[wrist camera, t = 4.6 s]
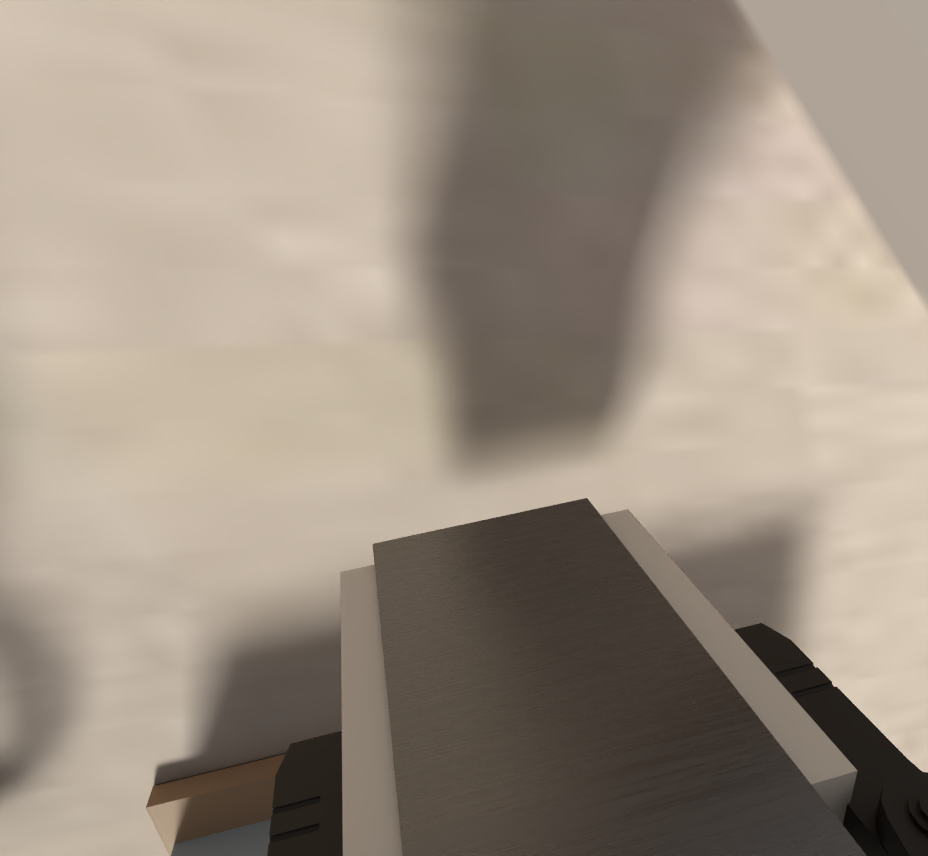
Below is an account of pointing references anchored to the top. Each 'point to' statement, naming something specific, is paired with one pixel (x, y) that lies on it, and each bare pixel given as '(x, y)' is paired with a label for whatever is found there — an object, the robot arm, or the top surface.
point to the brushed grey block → (570, 706)
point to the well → (217, 811)
